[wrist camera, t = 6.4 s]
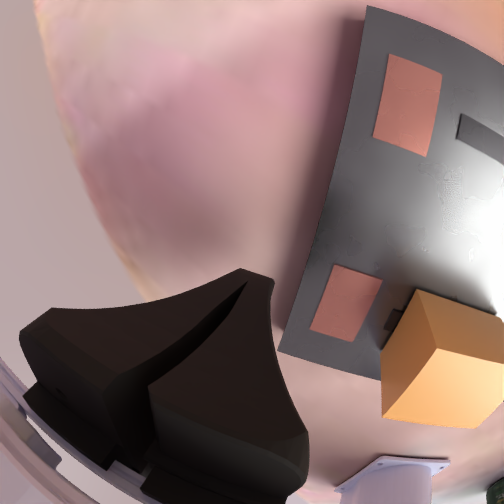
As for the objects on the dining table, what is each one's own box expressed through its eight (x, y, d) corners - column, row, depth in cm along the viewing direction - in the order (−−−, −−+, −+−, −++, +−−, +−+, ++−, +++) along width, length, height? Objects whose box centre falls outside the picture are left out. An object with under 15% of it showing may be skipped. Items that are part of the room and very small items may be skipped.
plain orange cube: (461, 373, 10) (475, 428, 7) (379, 354, 11) (381, 417, 8) (500, 317, 8) (529, 369, 5) (416, 288, 9) (437, 348, 6)
